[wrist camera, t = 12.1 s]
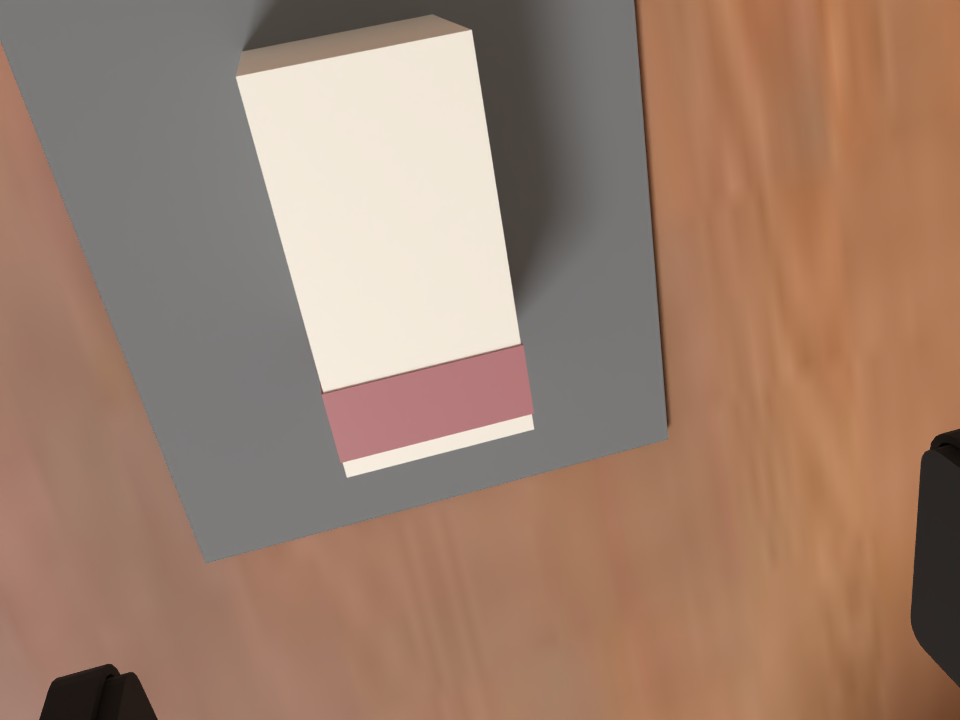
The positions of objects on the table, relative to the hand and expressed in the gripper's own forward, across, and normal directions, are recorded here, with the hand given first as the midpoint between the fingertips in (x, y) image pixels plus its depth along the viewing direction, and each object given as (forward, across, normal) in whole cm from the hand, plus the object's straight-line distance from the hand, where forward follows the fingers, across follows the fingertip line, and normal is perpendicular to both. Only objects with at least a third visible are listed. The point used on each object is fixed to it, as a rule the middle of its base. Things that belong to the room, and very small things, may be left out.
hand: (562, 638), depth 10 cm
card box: (+17, 0, 0) cm, 17 cm away
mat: (+17, 0, 0) cm, 17 cm away
